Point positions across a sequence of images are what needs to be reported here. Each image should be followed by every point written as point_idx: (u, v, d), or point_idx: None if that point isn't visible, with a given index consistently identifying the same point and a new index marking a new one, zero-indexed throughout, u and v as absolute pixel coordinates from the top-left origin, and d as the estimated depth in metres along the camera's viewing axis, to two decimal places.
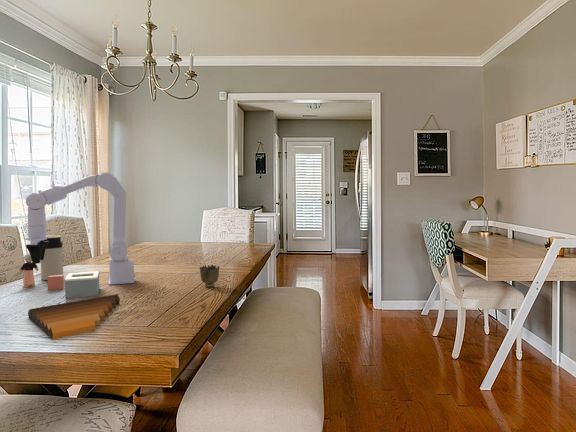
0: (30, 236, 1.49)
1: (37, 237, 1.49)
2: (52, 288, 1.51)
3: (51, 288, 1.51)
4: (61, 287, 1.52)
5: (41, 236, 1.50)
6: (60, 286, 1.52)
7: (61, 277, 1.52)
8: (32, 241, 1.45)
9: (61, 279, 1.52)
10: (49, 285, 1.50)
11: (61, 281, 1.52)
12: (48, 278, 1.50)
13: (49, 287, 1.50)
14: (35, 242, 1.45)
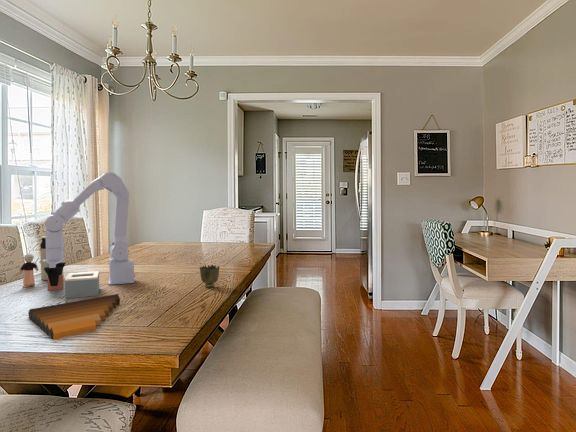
0: (48, 258, 1.49)
1: (55, 259, 1.49)
2: (52, 288, 1.51)
3: (51, 288, 1.51)
4: (61, 287, 1.52)
5: (59, 258, 1.50)
6: (60, 286, 1.52)
7: (61, 277, 1.52)
8: (50, 264, 1.45)
9: (61, 279, 1.52)
10: (49, 285, 1.50)
11: (61, 281, 1.52)
12: (48, 278, 1.50)
13: (49, 287, 1.50)
14: (53, 265, 1.45)
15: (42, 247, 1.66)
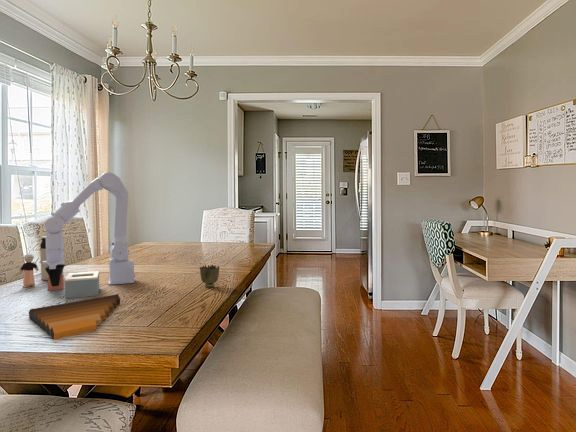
0: (48, 260, 1.49)
1: (55, 261, 1.49)
2: (52, 288, 1.51)
3: (51, 288, 1.51)
4: (61, 287, 1.52)
5: (59, 260, 1.50)
6: (60, 286, 1.52)
7: (61, 277, 1.52)
8: (51, 265, 1.45)
9: (61, 279, 1.52)
10: (49, 285, 1.50)
11: (61, 281, 1.52)
12: (48, 278, 1.50)
13: (49, 287, 1.50)
14: (54, 266, 1.45)
15: (42, 247, 1.66)
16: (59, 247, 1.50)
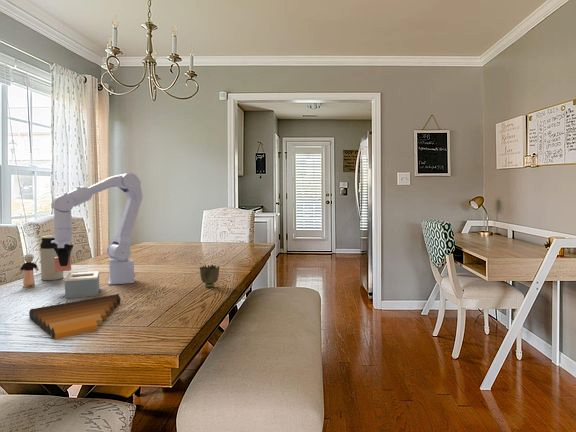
0: (57, 239, 1.47)
1: (64, 240, 1.47)
2: (59, 269, 1.48)
3: (58, 269, 1.48)
4: (68, 269, 1.49)
5: (67, 239, 1.48)
6: (67, 268, 1.49)
7: (68, 258, 1.49)
8: (59, 244, 1.42)
9: (68, 260, 1.49)
10: (56, 266, 1.48)
11: (68, 262, 1.49)
12: (55, 259, 1.48)
13: (56, 268, 1.48)
14: (62, 245, 1.43)
15: (42, 247, 1.66)
16: (69, 226, 1.48)
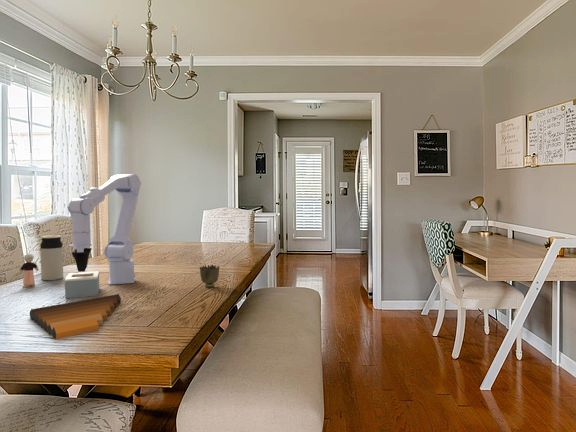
0: (75, 243, 1.42)
1: (82, 244, 1.43)
2: None
3: None
4: None
5: (86, 243, 1.44)
6: None
7: None
8: (78, 248, 1.38)
9: None
10: None
11: None
12: None
13: None
14: (81, 249, 1.39)
15: (42, 247, 1.66)
16: None
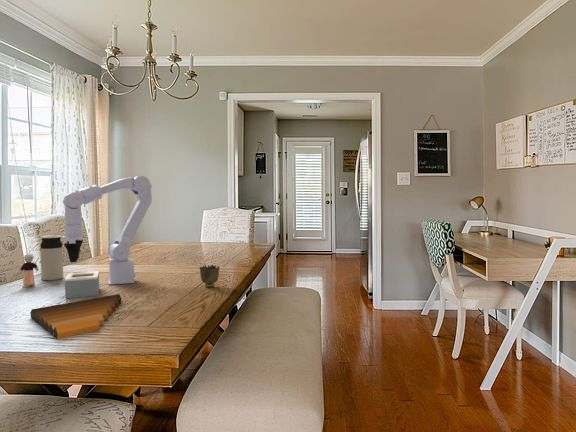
0: (67, 235, 1.51)
1: (74, 236, 1.51)
2: None
3: None
4: None
5: (78, 235, 1.52)
6: None
7: None
8: (71, 240, 1.47)
9: None
10: None
11: None
12: None
13: None
14: (73, 241, 1.47)
15: (42, 247, 1.66)
16: (78, 222, 1.52)
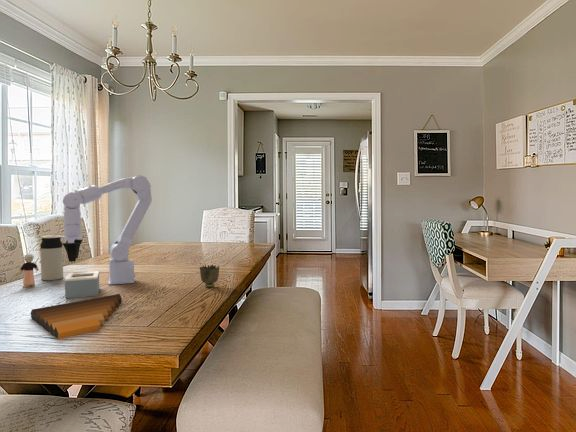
0: (66, 234, 1.52)
1: (73, 235, 1.52)
2: None
3: None
4: None
5: (77, 234, 1.53)
6: None
7: None
8: (69, 239, 1.48)
9: None
10: None
11: None
12: None
13: None
14: (72, 240, 1.48)
15: (42, 247, 1.66)
16: (77, 222, 1.53)
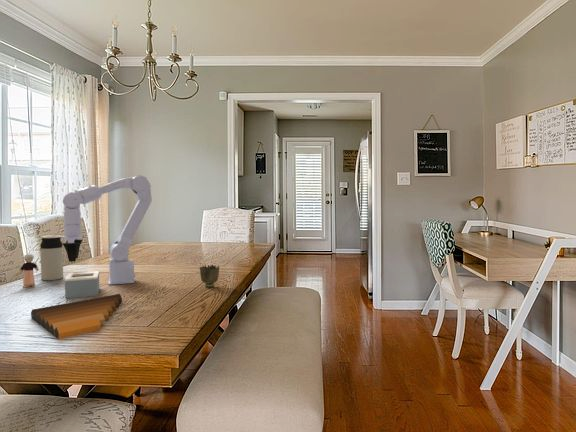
0: (66, 234, 1.52)
1: (73, 235, 1.52)
2: None
3: None
4: None
5: (77, 234, 1.53)
6: None
7: None
8: (69, 239, 1.48)
9: None
10: None
11: None
12: None
13: None
14: (72, 240, 1.48)
15: (42, 247, 1.66)
16: (77, 222, 1.53)
